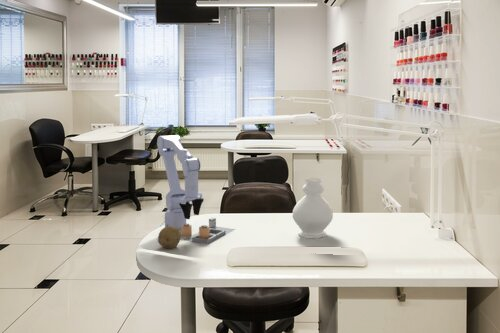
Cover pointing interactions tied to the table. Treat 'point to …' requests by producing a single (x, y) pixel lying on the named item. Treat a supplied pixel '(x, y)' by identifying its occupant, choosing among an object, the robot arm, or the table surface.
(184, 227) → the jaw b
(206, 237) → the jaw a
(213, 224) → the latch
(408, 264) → the table surface
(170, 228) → the natural sponge
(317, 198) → the decorative vase
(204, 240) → the housing
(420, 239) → the table surface
